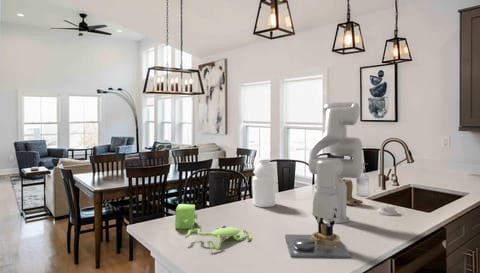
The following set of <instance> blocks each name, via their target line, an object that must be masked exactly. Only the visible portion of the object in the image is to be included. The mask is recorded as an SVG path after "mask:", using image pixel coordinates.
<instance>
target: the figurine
mask: <svg viewBox="0 0 480 273" xmlns="http://www.w3.org/2000/svg"><path fill="white" fill-rule="evenodd" d="M193 232H197V235H199V236H205V237H206V236H208V237H211V236H212V237H215V238H216V239H217V246H215V244H214V243H213V241H212V240H211V239H209V240H207V245H208V247H209V249H210V250H211V253H212V254H213V253H214V252H213V249H214V250H215V251H218V250H220V248H221V243H222V242H223V241H224V240H226V239H227V238H228V239H231V237H232V238H233V239H234V240H236V241H241V240H242V238H243V235H244V233H245V234H246V238H245V239H246V240H247V241H252V239H253V238H252V237H253V236H252V235H251V233H249V231H247V230H246V229H242V231H241V230H240V229H239V228H236V227H226V225H223V226H222V227H218V228H216V230H214V231H212V232H202V229H200V228H193V229H188V232H187V233H186V235H185V236H184V237H185V239H188V238H189V237H190V236H191V233H193ZM239 233H240V236H239V237H238V235H239ZM211 245H212V246H211ZM212 247H213V249H212Z"/></svg>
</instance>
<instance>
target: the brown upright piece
mask: <svg viewBox="0 0 480 273" xmlns="http://www.w3.org/2000/svg"><path fill="white" fill-rule="evenodd" d="M342 180H343V181H344V182H345V184H346V187H347V195H346V205H350V206H359V205H361V204H363V203H364V201H363V200H360V199H358V198H354V197H353V190H354V189H353V188H354V187H353V186H354V185H353V181H352V180H351V178H342Z"/></svg>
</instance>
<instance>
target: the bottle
mask: <svg viewBox="0 0 480 273" xmlns="http://www.w3.org/2000/svg"><path fill="white" fill-rule="evenodd" d="M270 160H271V159H270V158H265V157H263V158H259V159H258V162H259V163H258V164H256V165H255V167H254V169H253V171H252V172H253V174H254V176H253V177H252V204H253V206H254V207H259V208H270V207H274V206H276V202H277V201H276V190H277V189H276V185H277V184H276V182H277V181H276V179H277V178H276V177H275V174H276V170H275V168H274V166H273V165H272V163H270V162H271V161H270Z"/></svg>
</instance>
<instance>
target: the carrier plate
mask: <svg viewBox="0 0 480 273" xmlns="http://www.w3.org/2000/svg"><path fill="white" fill-rule="evenodd" d="M317 232H318V231H316V232H313V233H311V234H286V233H285V235H284V239H285V242H286V246H287V248H288V249H287V250H288V253H289V256H290V258H291V257H293V258H351V253H350V252H349V249H347V248H346V246H345V244H344V243H343V242H342V241H341V238H340V236H339V234H336V233H334V232H333V234H335V238H334V240H321V239H319V238H316V233H317Z"/></svg>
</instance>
